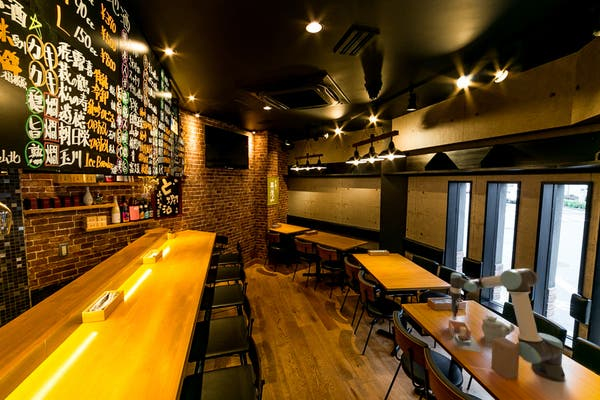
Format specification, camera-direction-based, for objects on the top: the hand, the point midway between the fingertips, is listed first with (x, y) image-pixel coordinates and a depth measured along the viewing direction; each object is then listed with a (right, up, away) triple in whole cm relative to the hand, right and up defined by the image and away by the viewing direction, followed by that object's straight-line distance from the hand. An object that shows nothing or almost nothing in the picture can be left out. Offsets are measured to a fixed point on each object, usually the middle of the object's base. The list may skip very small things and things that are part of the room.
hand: (454, 319), depth 210 cm
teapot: (+20, -8, -20) cm, 29 cm away
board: (-4, -7, -18) cm, 20 cm away
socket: (-6, -7, -20) cm, 22 cm away
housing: (-3, -6, -12) cm, 14 cm away
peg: (-6, -6, -20) cm, 22 cm away
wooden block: (0, -10, -51) cm, 52 cm away
